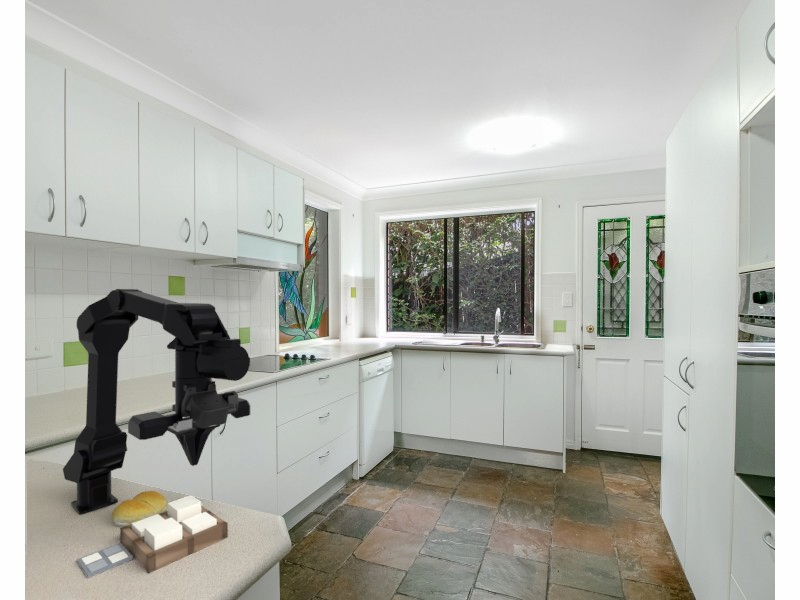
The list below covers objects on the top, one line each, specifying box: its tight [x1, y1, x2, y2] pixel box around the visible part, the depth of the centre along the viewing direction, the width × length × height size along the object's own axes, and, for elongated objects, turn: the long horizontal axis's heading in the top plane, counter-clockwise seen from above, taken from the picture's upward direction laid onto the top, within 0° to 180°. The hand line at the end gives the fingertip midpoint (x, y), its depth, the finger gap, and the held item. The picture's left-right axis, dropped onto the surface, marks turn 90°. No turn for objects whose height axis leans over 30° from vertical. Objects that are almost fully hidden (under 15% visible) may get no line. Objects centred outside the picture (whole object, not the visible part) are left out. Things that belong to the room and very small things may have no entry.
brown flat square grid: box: [119, 504, 229, 574], centre depth 74 cm, size 13×13×2 cm
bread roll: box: [111, 490, 168, 528], centre depth 82 cm, size 8×9×4 cm
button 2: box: [144, 517, 182, 551], centre depth 70 cm, size 4×4×3 cm
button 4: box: [181, 512, 217, 535], centre depth 74 cm, size 4×4×3 cm
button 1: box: [132, 514, 165, 538], centre depth 73 cm, size 4×4×3 cm
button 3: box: [166, 495, 202, 522], centre depth 78 cm, size 4×4×3 cm
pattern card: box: [76, 542, 134, 579], centre depth 68 cm, size 6×6×1 cm
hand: (193, 464), depth 75 cm, fingers closed
